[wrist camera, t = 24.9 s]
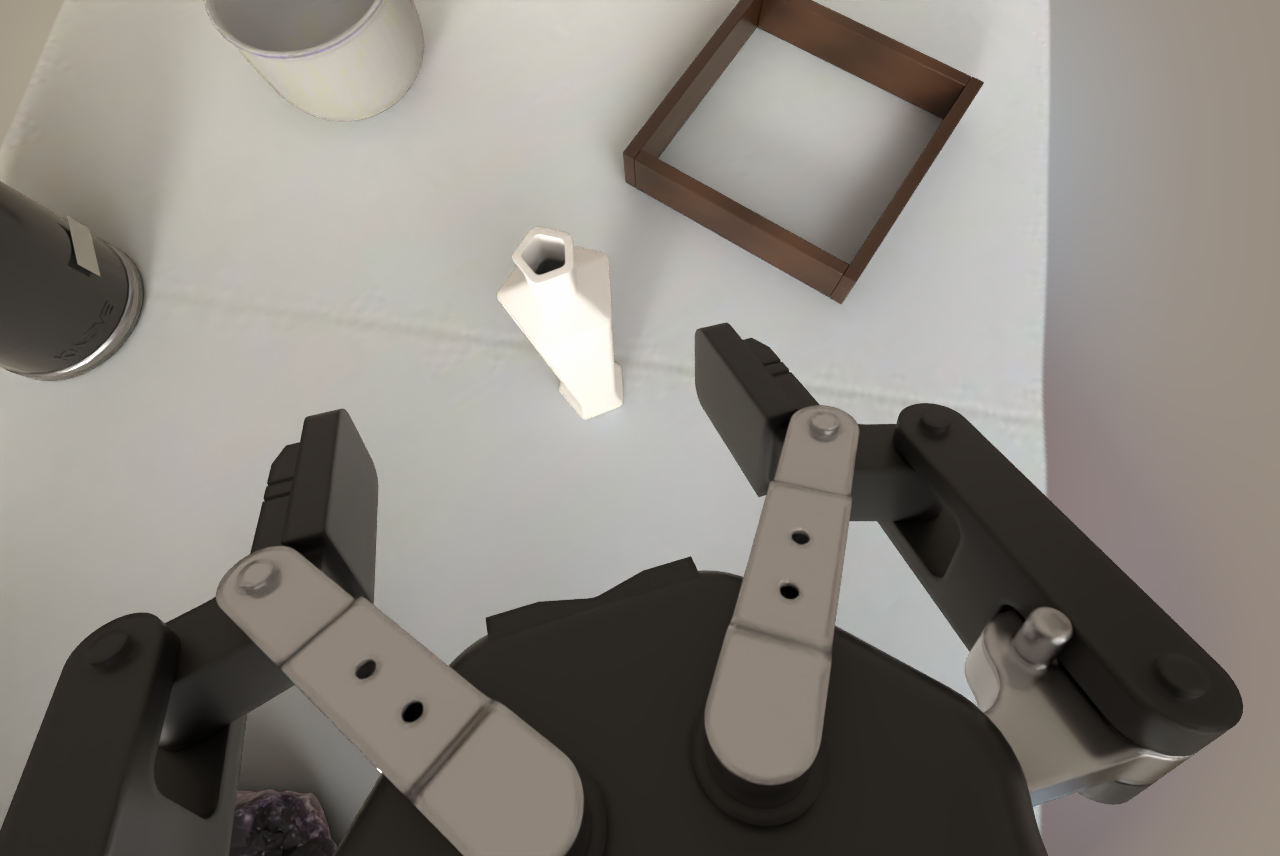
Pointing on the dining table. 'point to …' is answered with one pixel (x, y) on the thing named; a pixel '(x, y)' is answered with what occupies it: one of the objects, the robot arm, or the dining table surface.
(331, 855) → the crystal cluster
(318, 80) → the teacup
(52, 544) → the dining table surface
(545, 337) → the perfume bottle
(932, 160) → the walnut frame
